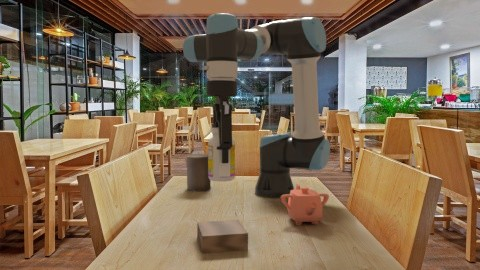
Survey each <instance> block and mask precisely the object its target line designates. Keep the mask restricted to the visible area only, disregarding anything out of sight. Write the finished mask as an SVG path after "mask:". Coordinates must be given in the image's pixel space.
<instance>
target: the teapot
mask: <svg viewBox="0 0 480 270" xmlns="http://www.w3.org/2000/svg"><path fill="white" fill-rule="evenodd" d="M295 187H296V189H294V190H291V191H290V194H285V195H282V196H281V197H280V201H281V203H282V204H283V205H284V206H285V207H286V208H287V213H288V216H289V218H290V220H293V221H295V225H297V226H302V225H303V222H304V223H309V222H310V223H311V225H318V224H319V222H321V221H322V219H323V216H324V215H323V212H324V211H323V210H324V209H323V207H324V206H325V204H327V202H328V201H329V199H330V196H329V194H328V193H318V192H317V191H316V190H313V189H310V188H309V187H307V186H306V187H305V186H304V187H301V186H300V184H299V183H296V184H295ZM286 198H287V199H288V202H287V199H286ZM322 198H323V199H322Z"/></svg>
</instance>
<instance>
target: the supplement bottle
mask: <svg viewBox="0 0 480 270" xmlns="http://www.w3.org/2000/svg"><path fill="white" fill-rule="evenodd" d="M211 133H212V137H211V138H210V139H208V141H207V155H208V177H209V179H210V181H212V182H230V181H233V180H235V178H236V142H235V139H234V138H232V148H231V149H230V177H219V176H218V159H219V150H217V147H219V146H220V145H219V127H217V128H213V127H212V128H211Z"/></svg>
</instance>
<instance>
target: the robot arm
mask: <svg viewBox="0 0 480 270" xmlns="http://www.w3.org/2000/svg"><path fill="white" fill-rule="evenodd" d="M238 23H239V22H238V17H237V16H236V15H234V14H230V13H213V14H211V15H209V16H208V17H207V18H206V30H205V34H204V33H202V34H194V35H193V34H192V35H189V36H187V37H186V38H185V39H184V41H183V43H182V51H183V55H184V58H185V59H186V60H187V61H188V62H189V63H206V65H204V67H203V70H204V71H206V79H208V80H207V81H206V83H205V84H206V90H205V91H206V96H207V97H215V100H214V104H212V106H211V107H212V128H217V127H219V145H220V146H219V147H217V150H219V159H218V176H219V177H230V149H231V148H232V139H233V121H232V120H233V116H232V115H233V105H232V104H231V103H230V100H229V98H230V97H237V95H238V82H237V81H236V80H237V79H238V67H239V64H238V61H240V60H242V61H245V62H247V61H248V62H250V61H255V60H258V59H259V58H260V57H261V55H262V54H263V55H265V54H266V55H268V54H269V55H286V61H288V62H289V63H290V64H291V77H292V92H293V109H294V110H293V112H294V128H295V130H294V131H292V132H293V133H278V134H276V133H275V134H269V135H263V136H262V137H260V141H259V175H258V178H257V181H256V184H255V187H254V193H255V195H257V196H261V197H266V198H281V196H282V195H285V194H290V191H291V190H295V187H294V183H293V180H292V176H291V169H296V170H304V171H309V172H312V171H317V172H319V171H320V172H321V171H322V170H324V169H325V168H326V166H327V164H328V161H329V158H330V154H331V143H330V141H329V139H327V138H325V133H324V131H323V130H321V129H320V118H319V117H320V116H319V115H320V110H319V94H318V93H319V91H318V86H319V85H318V68H317V64H318V63H317V62H318V61H319V60H320V58H321V55H322V54H321V53H323V52H324V51H326V48H327V45H326V44H327V35H326V30H325V27H324V25H323V23H322V21H321V19H319V17H315V16H311V17H309V16H307V17H306V16H305V17H299V18H290V19H283V20H274V21H270V22H269V23H268V22H267V23H263V24H259V25H253V26H252V27H251V28H250V29H243V28H239V24H238Z"/></svg>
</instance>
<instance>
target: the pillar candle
mask: <svg viewBox="0 0 480 270" xmlns="http://www.w3.org/2000/svg"><path fill="white" fill-rule="evenodd" d="M211 181H212V180H210V179H209V177H208V153H207V154H206V153H205V154H204V153H200V152H198V153H197V154H189V155H186V188H187V190H188V191H191V192H201V191H209V190H211V189H212V187H211V183H212V182H211Z"/></svg>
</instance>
